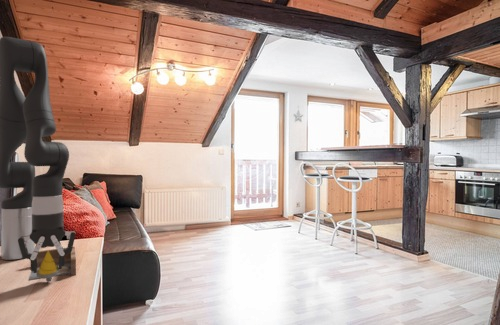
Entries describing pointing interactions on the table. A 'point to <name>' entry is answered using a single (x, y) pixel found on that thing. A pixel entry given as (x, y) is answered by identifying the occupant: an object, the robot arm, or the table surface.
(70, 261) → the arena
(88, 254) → the table surface
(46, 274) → the drill bit
